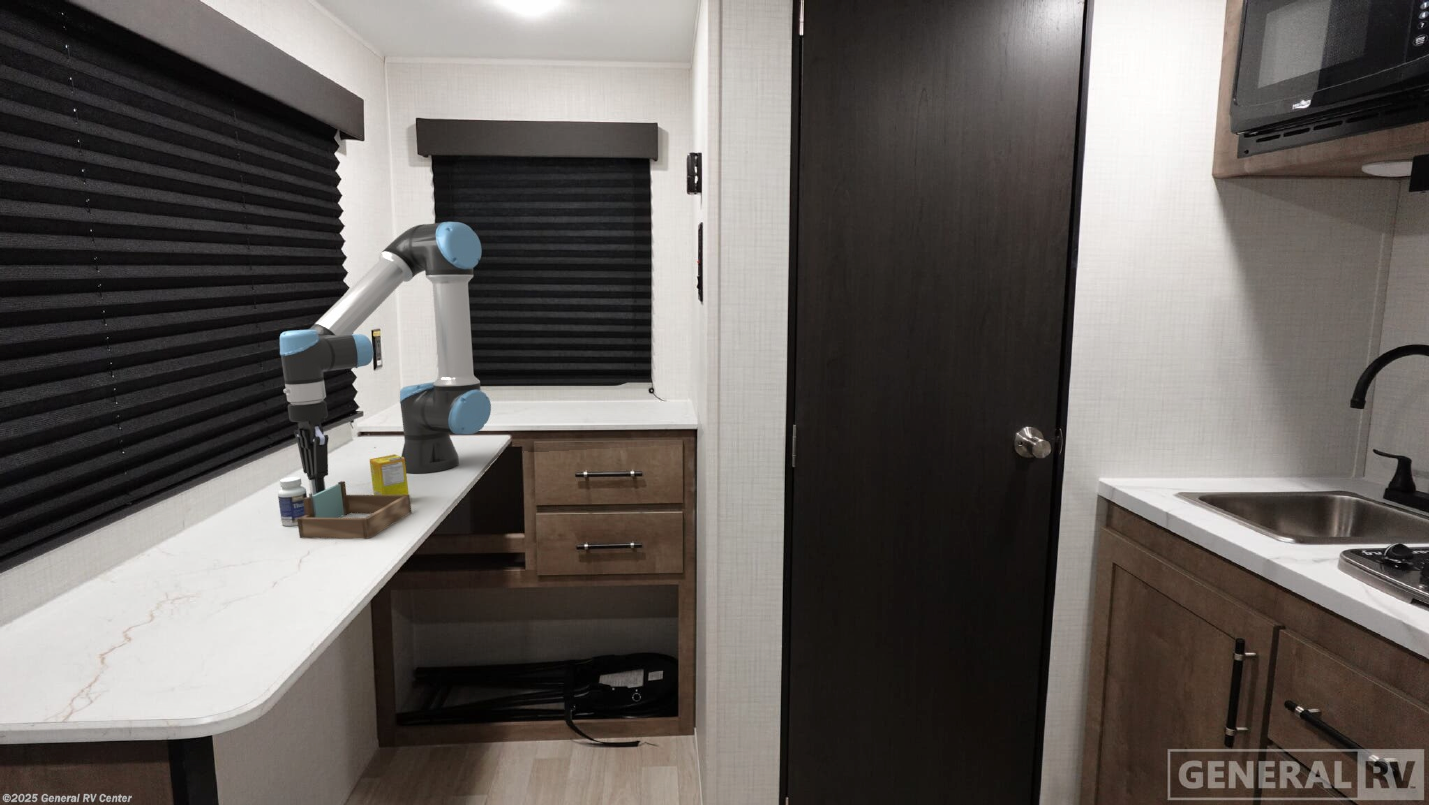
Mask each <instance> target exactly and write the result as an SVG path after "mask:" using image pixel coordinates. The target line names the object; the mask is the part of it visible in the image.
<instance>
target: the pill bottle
mask: <svg viewBox="0 0 1429 805" xmlns="http://www.w3.org/2000/svg"><path fill="white" fill-rule="evenodd" d="M279 484H280V485H279V486H280V488H281V489H279V491H278V493H277V499H278V504H279V506H278V507H279V512H280V514H279V515H280V521H281V524H282V526H284V527H292V526H293V527H294V526H298V521H297V519H298V518H300V517H302V516H304V515H305V510H304V503H303V499H304V498H306V497H308V495H307V494H308V493H307V489H306V488H305V487H304V486H302V477H301V476H290V477H284V478H282V479H280V480H279Z"/></svg>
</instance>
